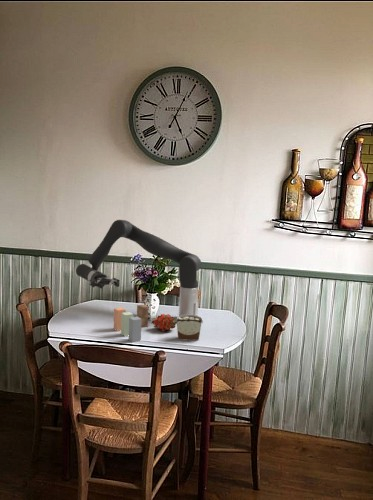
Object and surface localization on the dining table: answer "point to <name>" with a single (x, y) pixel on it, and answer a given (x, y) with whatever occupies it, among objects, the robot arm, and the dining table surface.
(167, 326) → the dragon fruit
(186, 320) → the food container
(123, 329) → the sage block
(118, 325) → the terracotta block
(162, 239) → the robot arm
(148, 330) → the dining table surface
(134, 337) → the slate block
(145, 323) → the walnut block
